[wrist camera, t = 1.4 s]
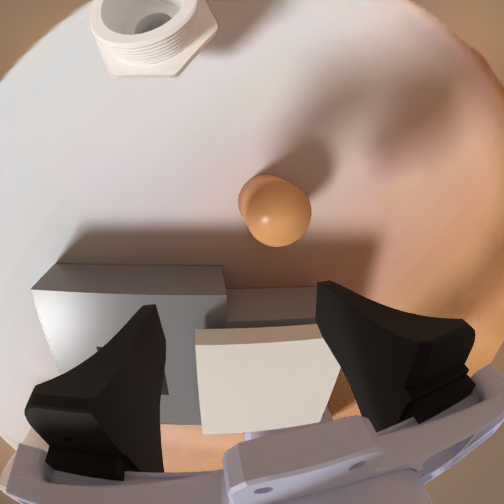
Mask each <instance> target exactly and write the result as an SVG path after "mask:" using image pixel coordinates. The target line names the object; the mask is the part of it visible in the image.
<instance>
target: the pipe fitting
mask: <svg viewBox="0 0 504 504" xmlns="http://www.w3.org/2000/svg"><path fill="white" fill-rule="evenodd" d="M90 26H91V30H92V32H93V34H94V37H95V39H96V42H97V45H98V47H99V50H100V52H101V55H102V57H103V60H104V62H105V65H106V67H107V70H108V72H109V74H111V75H112V76H113V77H115V78H117V79H127V78H176V77H178V76H179V75H180V74H181V73H182V72H183V71H184V70H185V68H186V67H187V66H188V65H189V64H190V63H191V61H192V60H193V59H194V58H195V57H196V56H197V55H198V54H199V52H200V51H201V50H202V49H203V48H204V47H205V46H206V45H207V44H208V43H209V42H210V41H211V40H212V38H213V37H214V36H215V35H216V34H217V28H218V24H217V22H216V20H215V18H214V16H213V14H212V12H211V10H210V8H209V6H208V4H207V2H206V1H205V0H94V1H93V4H92V7H91V10H90Z"/></svg>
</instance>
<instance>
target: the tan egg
mask: <svg viewBox="0 0 504 504" xmlns="http://www.w3.org/2000/svg"><path fill="white" fill-rule="evenodd" d="M238 205H239V210H240V213H241V215H242V217H243V219H244V220H245V222H246V224H247V226H248V228H249V230H250V232H251V233H252V235H253V236H254V237H255V238H256V239H257V240H258V241H260V242H261V243H263V244H265V245H268V246H273V247H281V246H286V245H289V244H291V243H293V242H295V241H297V240H298V239H299V238H300V237H301V236H302V235H303V234H304V233H305V231H306V230H307V228H308V226H309V223H310V220H311V205H310V202H309V199H308V197H307V196H306V194H305V193H304V192H303V191H302V190H301V189H300V188H299V187H297V186H296V185H294V184H292V183H290V182H288V181H286V180H284V179H282V178H279V177H277V176H275V175H270V174H262V175H258V176H255V177H253V178H252V179H250V180H249V181H248V182H247V183H246V184H245V185H244V186H243V188H242V189H241V192H240V194H239V199H238Z"/></svg>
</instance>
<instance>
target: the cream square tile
mask: <svg viewBox="0 0 504 504" xmlns="http://www.w3.org/2000/svg"><path fill="white" fill-rule="evenodd" d="M195 349H196V365H197V379H198V391H199V403H200V413H201V423H202V433H203V434H228V433H243V432H255V431H264V430H273V429H281V428H288V427H294V426H301V425H307V424H312V423H317V422H320V420H321V418H322V415H323V413H324V410H325V408H326V406H327V403H328V401H329V398H330V395H331V393H332V390H333V388H334V385H335V382H336V379H337V377H338V374H339V371H340V368H341V367H340V365H339V364H338V362H337V360H336V359H335V357H334V355H333V354H332V352H331V350H330V349H329V347H328V345H327V344H326V342H325V340H324V339H323V337H322V335H321V333H320V330H319V328H318V325H317V324H308V325H295V326H279V327H260V328H233V329H195Z"/></svg>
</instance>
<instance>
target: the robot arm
mask: <svg viewBox="0 0 504 504" xmlns="http://www.w3.org/2000/svg"><path fill="white" fill-rule="evenodd" d="M315 320H316V323H317V325H318V328H319V330H320V333H321V335H322V337H323V339H324V340H325V342H326V344H327V345H328V347H329V349H330V350H331V352H332V354H333V355H334V357H335V359H336V360H337V362H338V364H339V365H340V367H341V368H342V370H343V372H344V374H345V376H346V378H347V380H348V382H349V385H350V387H351V389H352V391H353V394H354V396H355V399H356V401H357V404H358V407H359V409H360V412H361V415H362V416H357V415H355V416H350V417H344V418H339V419H336V420H333V418H332V416H331V414H330V411H329V409H328V407H327V406H326V408H325V410H324V413H323V415H322V418H321V420H320V422H317V423H312V424H307V425H301V426H294V427H288V428H281V429H273V430H264V431H255V432H245V437H244V441H243V442H240V443H238V444H236V445H235V446H233V447H232V448H230V449H228V450H227V451H226V452H225V454H224V457H223V460H222V461H223V469H224V470H216V471H203V472H182V473H164V467H163V459H162V448H161V432H160V399H161V391H162V384H163V377H164V370H165V363H166V338H165V335H164V332H163V328H162V325H161V321H160V317H159V314H158V310H157V306H156V304H151V305H143V306H142V307H141V308H140V309H139V310H138V311H137V312H136V313H135V314H134V315H133V316H132V318H131V319H130V320H129V321H128V322H127V323H126V324H125V325H124V326H123V328H122V329H121V330H120V331H119V332H118V333H117V334H116V335H115V336H114V337H113V338H112V339H111V340H110V341H109V342H108V343H107V344H106V345H104V346H103V347H102V348H101V349H100V350H98V351H97V352H96V353H95V354H94V355H92V356H91V357H89V358H88V359H87V360H85V361H84V362H82V363H81V364H79V365H78V366H76V367H74V368H73V369H71V370H69V371H68V372H66V373H64V374H62V375H60V376H58V377H56V378H54V379H51V380H49V381H46V382H44V383H41V384H39V385H36V386H35V387H34V389H33V392H32V394H31V396H30V398H29V401H28V403H27V405H26V408H25V416H26V418H27V421H28V422H29V424H30V425H31V426H32V428H33V429H34V430H35V431H36V432H37V433H38V434H39V435H40V437H41V438H42V439H43V440H44V441H45V442H46V443H47V444H48V445H49V449H48V453H47V452H46V451H44V450H42V449H40V448H37V447H33V446H29V445H25V444H22V443H21V444H19V446H18V449H17V452H16V456H15V459H14V462H13V465H12V469H11V472H10V476H9V480H8V483H7V487H6V493H7V494H8V495H10V496H11V497H13V498H14V499H15V500H17V501H18V502H20V503H21V504H433V503H432V501H431V499H430V498H429V496H428V494H427V492H426V491H425V489H424V487H423V485H424V484H426V483H427V482H429V481H431V480H432V479H434V478H435V477H436V476H438V475H440V474H441V473H442V472H444V471H445V470H447V469H448V468H450V467H451V466H452V465H453V464H455V463H457V462H458V461H459V460H461V459H462V458H463V457H464V456H465V455H467V454H468V453H469V452H471V451H472V450H473V449H475V448H476V447H477V446H478V445H480V444H481V443H482V442H483V441H485V440H486V439H487V438H488V437H489V436H490V435H492V434H493V433H494V432H495V431H496V430H497V428H498V427H499V426H500V425H501V424H502V422H503V421H504V377H503V376H502V375H501V374H500V373H499V372H498V371H497V370H496V369H495V368H494V367H493V366H492V365H491V364H488V365H486V366H485V367H483V368H482V369H480V370H479V371H477V372H476V373H475V374H474V375H473V376H472V377H471V378H470V377H469V376H468V375H467V374H466V373H468V371H469V369H468V368H467V367H466V365H465V362H466V360H467V358H468V356H469V353H470V351H471V349H472V347H473V344H474V341H475V330H474V329H473V328H472V327H471V326H470V325H469V324H468V323H467V322H465V321H464V320H463V319H448V318H435V317H427V316H421V315H416V314H412V313H407V312H403V311H400V310H397V309H393V308H390V307H387V306H385V305H382V304H379V303H377V302H375V301H372V300H370V299H368V298H365V297H363V296H361V295H359V294H357V293H355V292H353V291H351V290H349V289H347V288H345V287H343V286H341V285H339V284H337V283H335V282H332V281H323V282H317V296H316V313H315Z"/></svg>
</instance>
